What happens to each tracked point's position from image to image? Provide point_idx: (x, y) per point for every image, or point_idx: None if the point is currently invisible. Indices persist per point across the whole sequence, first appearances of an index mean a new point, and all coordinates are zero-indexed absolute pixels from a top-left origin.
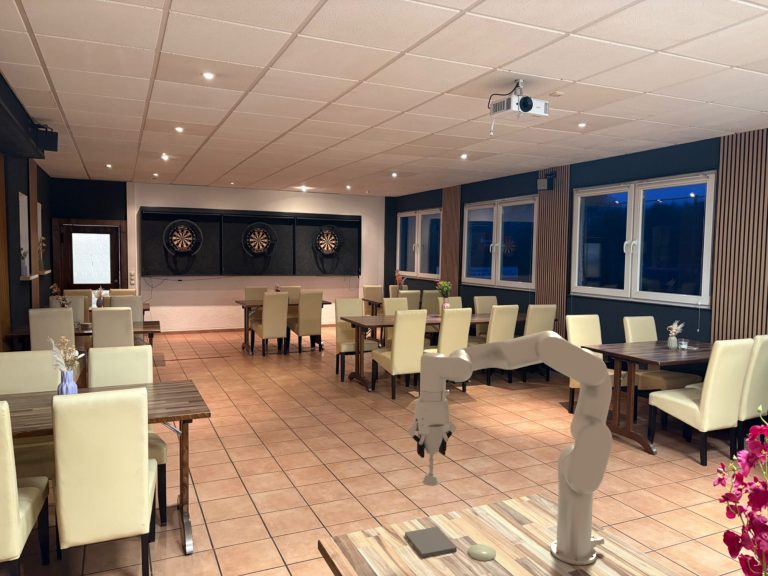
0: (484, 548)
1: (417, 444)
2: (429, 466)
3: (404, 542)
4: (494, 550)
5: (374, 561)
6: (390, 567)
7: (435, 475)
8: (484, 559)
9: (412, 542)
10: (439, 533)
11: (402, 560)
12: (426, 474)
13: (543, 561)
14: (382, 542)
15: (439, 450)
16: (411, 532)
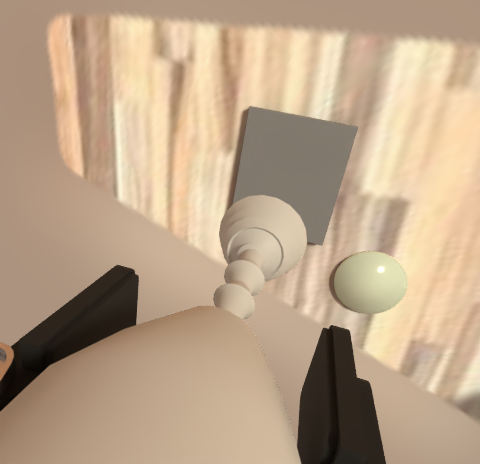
0: (386, 278)
1: (15, 355)
2: (227, 279)
3: (230, 138)
4: (400, 297)
5: (130, 174)
6: (151, 212)
7: (273, 270)
8: (348, 306)
9: (240, 162)
10: (333, 165)
11: (186, 205)
12: (235, 233)
13: (462, 378)
14: (179, 107)
15: (320, 347)
16: (265, 117)
